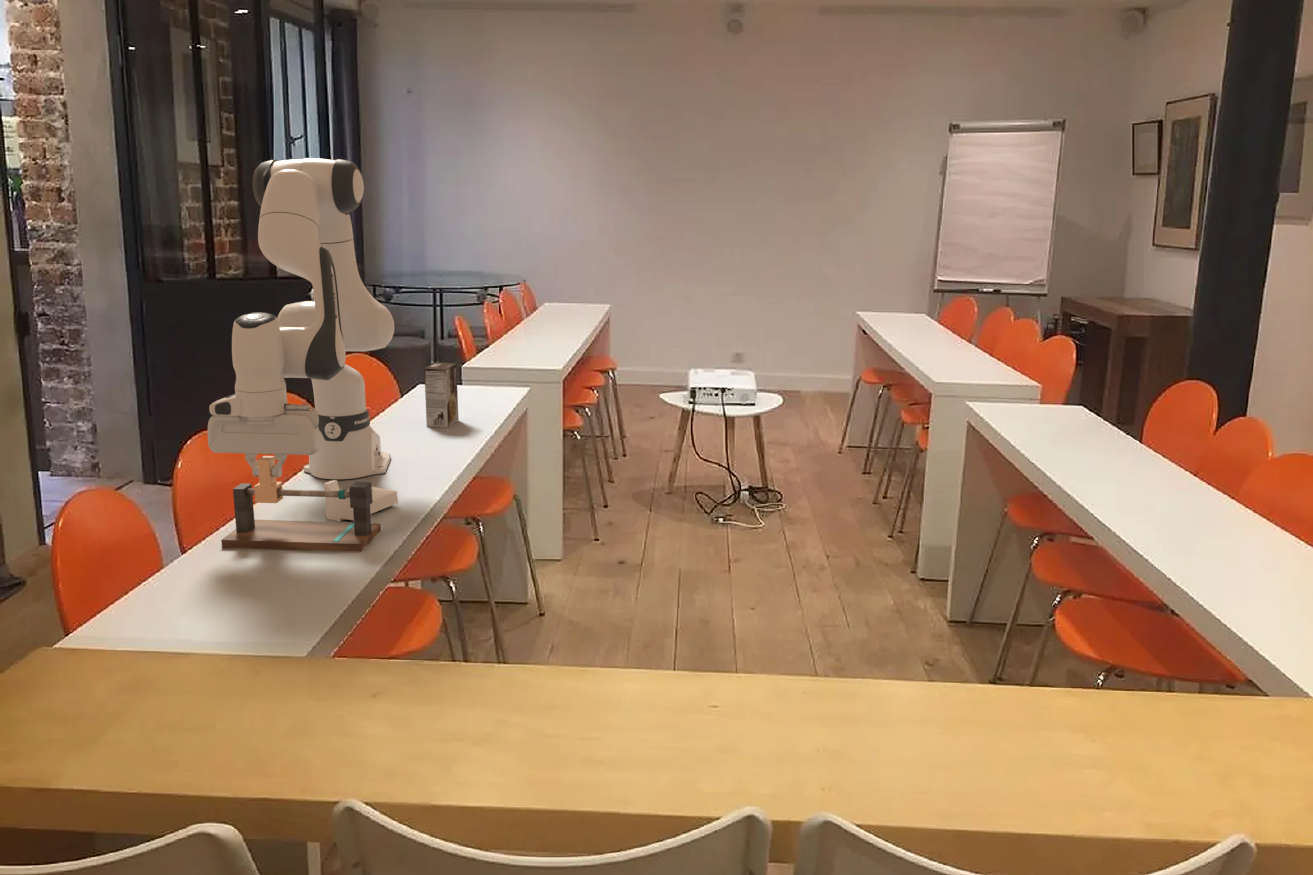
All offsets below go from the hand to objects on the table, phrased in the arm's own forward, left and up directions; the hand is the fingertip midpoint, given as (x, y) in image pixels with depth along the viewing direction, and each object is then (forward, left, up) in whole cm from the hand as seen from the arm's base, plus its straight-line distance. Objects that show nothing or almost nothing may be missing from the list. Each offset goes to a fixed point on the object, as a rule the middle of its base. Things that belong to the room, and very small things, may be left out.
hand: (267, 476), depth 205 cm
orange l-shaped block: (0, 0, -5) cm, 5 cm away
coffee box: (-96, +8, -12) cm, 97 cm away
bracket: (-17, +12, -13) cm, 24 cm away
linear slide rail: (0, +6, -12) cm, 14 cm away
